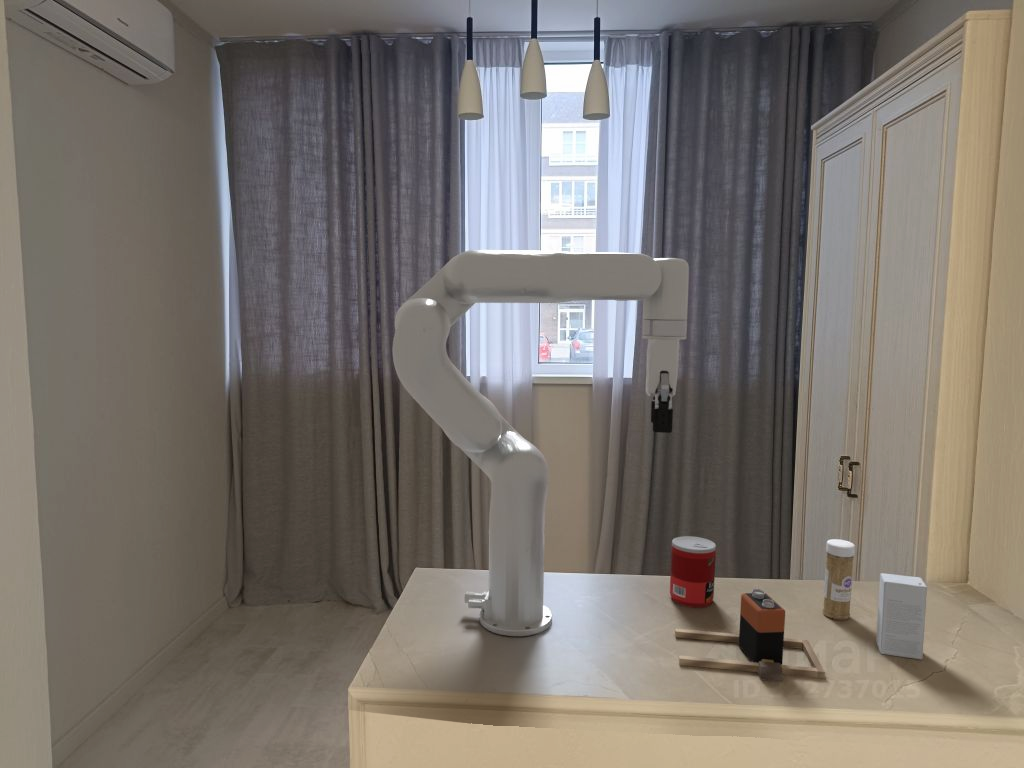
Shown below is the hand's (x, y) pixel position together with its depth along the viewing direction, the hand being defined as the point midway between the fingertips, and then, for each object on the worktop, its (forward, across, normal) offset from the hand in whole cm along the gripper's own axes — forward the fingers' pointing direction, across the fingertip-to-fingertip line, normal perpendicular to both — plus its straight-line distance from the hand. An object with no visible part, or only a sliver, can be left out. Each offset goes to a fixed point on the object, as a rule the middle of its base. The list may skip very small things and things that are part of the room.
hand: (660, 427), depth 122 cm
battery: (+34, +15, +16) cm, 40 cm away
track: (+33, +16, +13) cm, 39 cm away
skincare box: (+34, +9, +38) cm, 51 cm away
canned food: (+34, -5, +7) cm, 35 cm away
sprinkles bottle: (+34, -3, +32) cm, 46 cm away
